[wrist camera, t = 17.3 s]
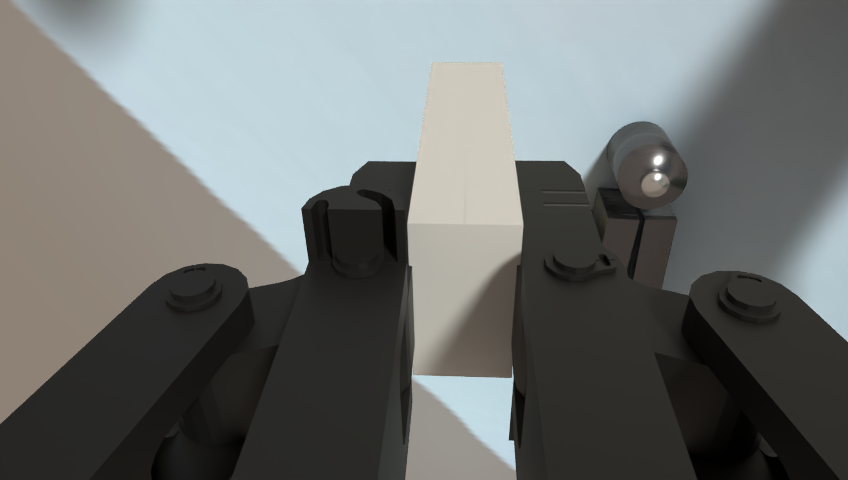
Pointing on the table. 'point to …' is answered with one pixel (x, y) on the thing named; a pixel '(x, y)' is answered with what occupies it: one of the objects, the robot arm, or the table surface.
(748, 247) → the table surface
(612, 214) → the tong arm
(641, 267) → the base
